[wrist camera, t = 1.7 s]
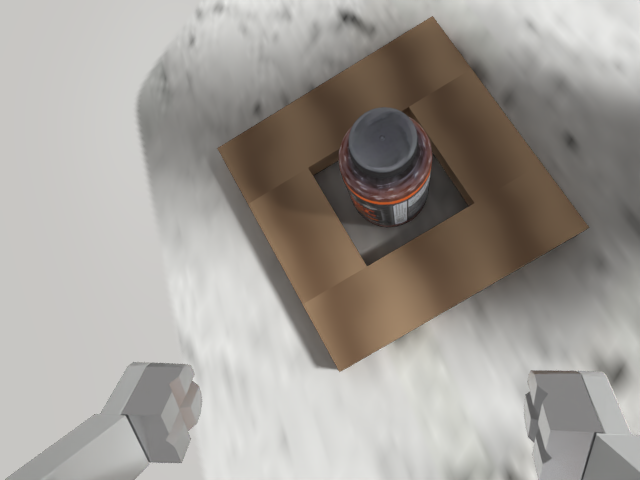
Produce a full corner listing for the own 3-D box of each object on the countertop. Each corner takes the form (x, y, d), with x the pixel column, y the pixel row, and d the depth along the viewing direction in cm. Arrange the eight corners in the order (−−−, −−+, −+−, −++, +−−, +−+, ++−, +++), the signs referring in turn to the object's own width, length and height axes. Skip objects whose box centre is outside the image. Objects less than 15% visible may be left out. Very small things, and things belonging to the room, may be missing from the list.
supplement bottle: (336, 193, 41) (309, 139, 30) (389, 141, 41) (381, 69, 30) (389, 245, 39) (381, 208, 28) (444, 191, 39) (457, 133, 29)
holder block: (431, 30, 42) (432, 16, 40) (579, 233, 37) (589, 227, 35) (226, 156, 43) (217, 148, 41) (343, 370, 38) (339, 371, 36)
